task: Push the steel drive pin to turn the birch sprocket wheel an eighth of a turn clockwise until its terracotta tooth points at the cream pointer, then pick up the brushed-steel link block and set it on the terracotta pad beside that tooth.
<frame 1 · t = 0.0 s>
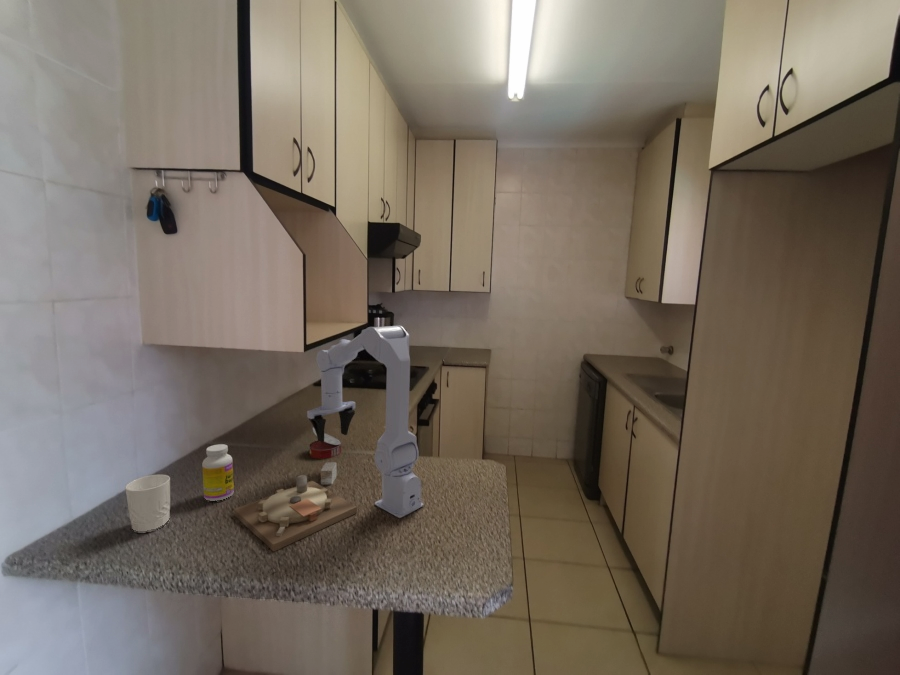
hand: (332, 437, 119), 10 cm above the worktop, tool pointing down, fingers open, 7 cm apart
white cup: (151, 526, 92), on the worktop
supplement bottle: (219, 497, 105), on the worktop
base board: (295, 514, 97), on the worktop
canned food: (325, 453, 134), on the worktop
link block: (329, 480, 114), on the worktop
sprocket wheel: (295, 496, 96), point 4 cm above the worktop, hinge at 0.0°
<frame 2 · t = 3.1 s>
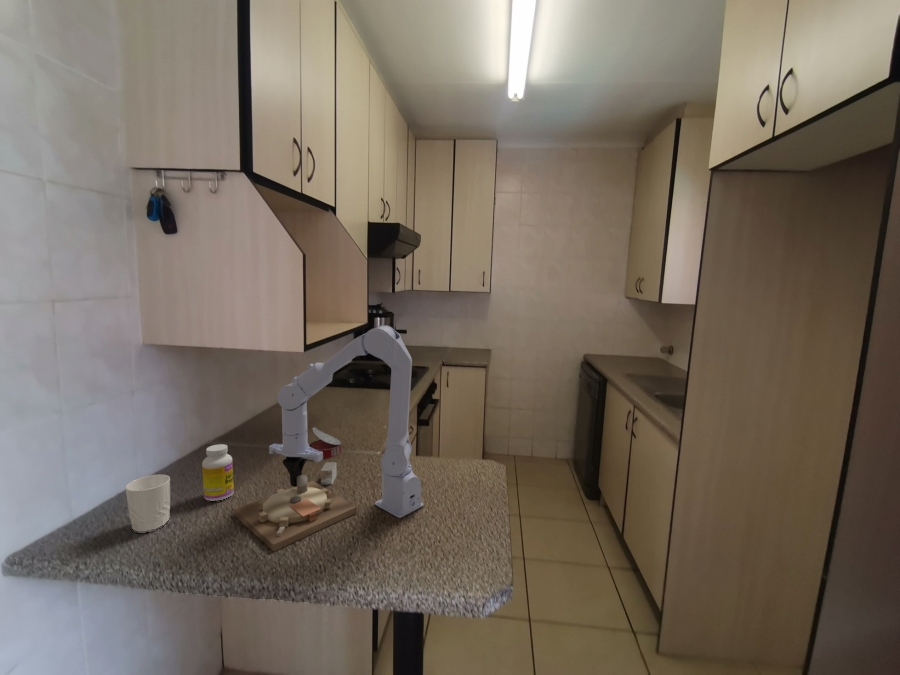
hand: (296, 484, 102), 4 cm above the worktop, tool pointing down, fingers closed, pressing on sprocket wheel
sprocket wheel: (295, 496, 96), point 4 cm above the worktop, hinge at -0.7°, touching gripper
everything else where it was.
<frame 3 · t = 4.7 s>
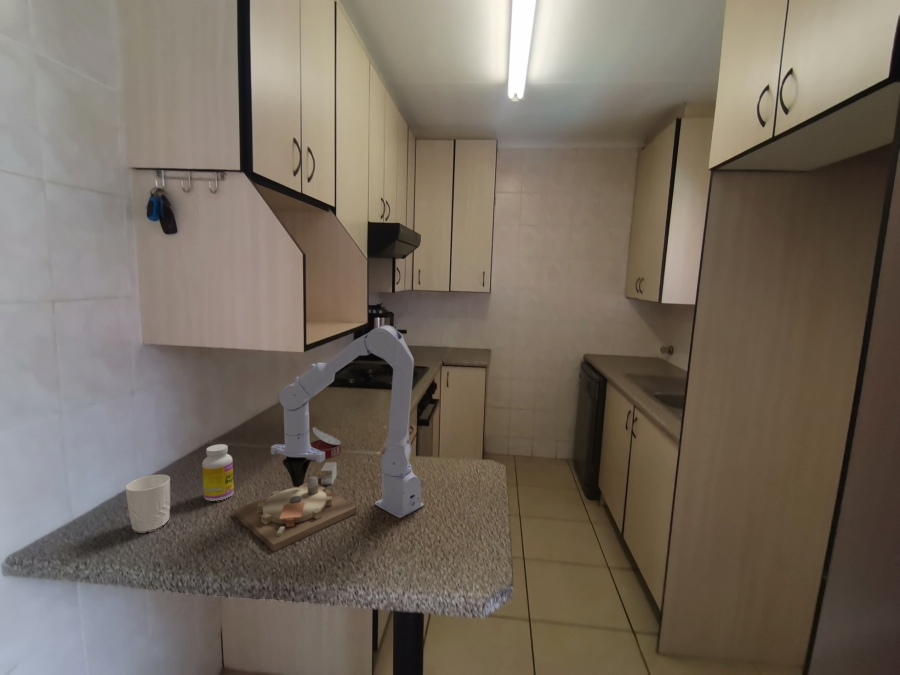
hand: (298, 485, 101), 4 cm above the worktop, tool pointing down, fingers closed
sprocket wheel: (295, 496, 96), point 4 cm above the worktop, hinge at -35.7°
everything else where it was.
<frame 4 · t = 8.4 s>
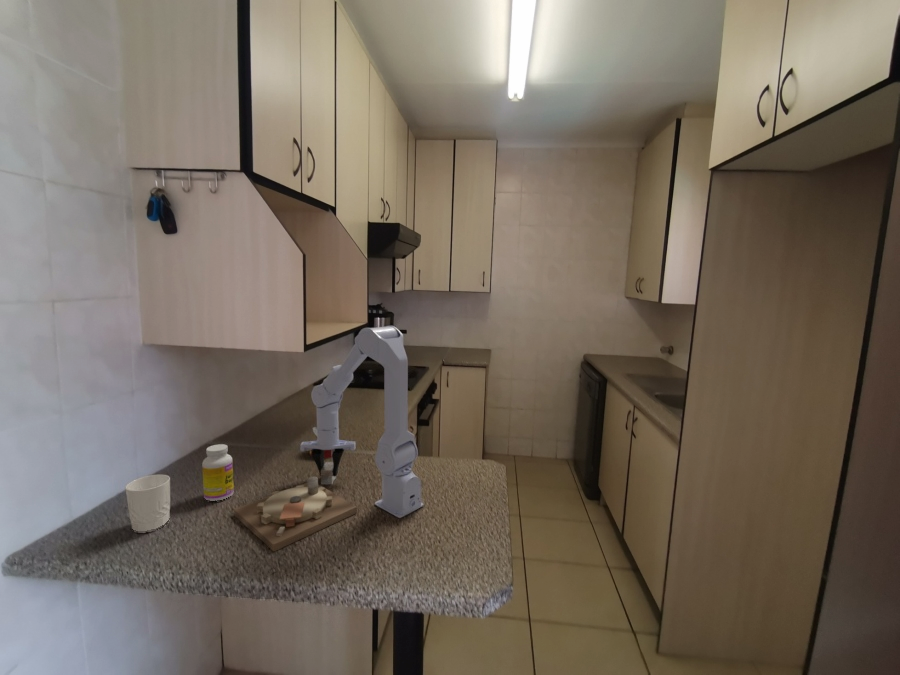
hand: (328, 474, 114), 1 cm above the worktop, tool pointing down, fingers closed on link block, 3 cm apart
link block: (329, 479, 114), on the worktop, touching gripper
everything else where it was.
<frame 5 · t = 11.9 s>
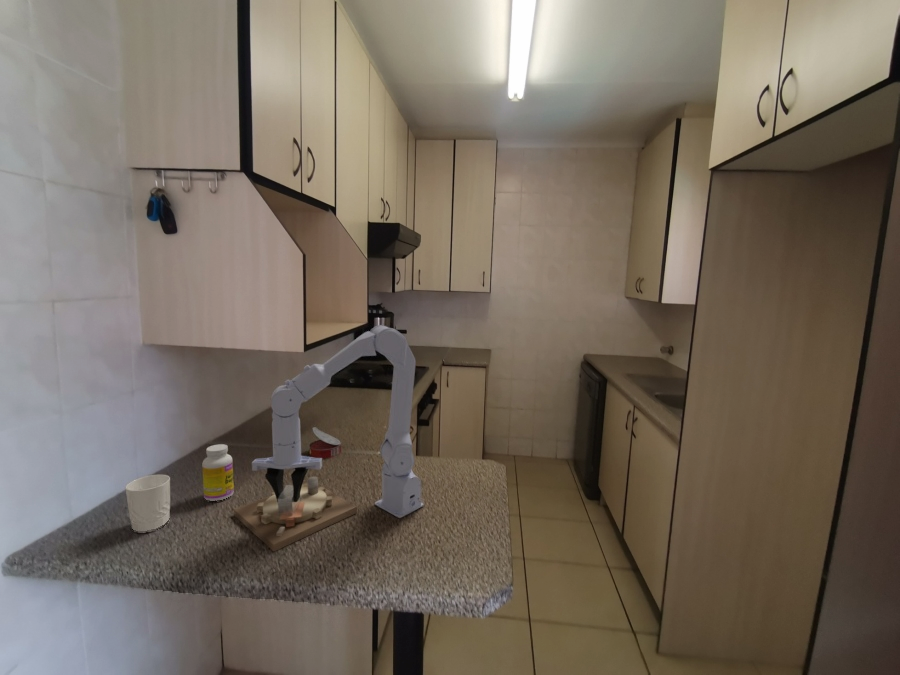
hand: (288, 499, 92), 6 cm above the worktop, tool pointing down, fingers closed on link block, 3 cm apart
link block: (289, 507, 93), point 4 cm above the worktop, touching gripper, sprocket wheel
sprocket wheel: (295, 496, 96), point 4 cm above the worktop, hinge at -35.7°, touching link block
everything else where it was.
when the fingers open (6 cm above the worktop, at t = 12.0 s): link block stays where it is, resting on sprocket wheel.
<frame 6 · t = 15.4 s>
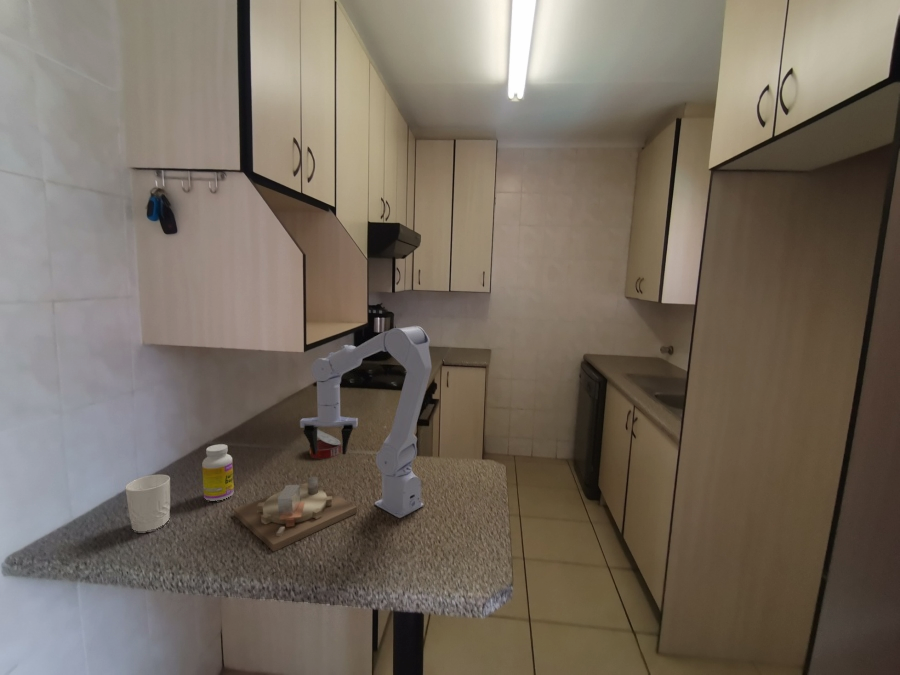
hand: (329, 453, 109), 9 cm above the worktop, tool pointing down, fingers open, 7 cm apart
link block: (289, 507, 93), point 4 cm above the worktop, touching sprocket wheel
everything else where it was.
at the end: sprocket wheel at -36° (first picture: +0°); link block 0.7 cm from the target spot on the sprocket wheel, point 1.9 cm above the sprocket wheel's base; the gripper is holding nothing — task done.
